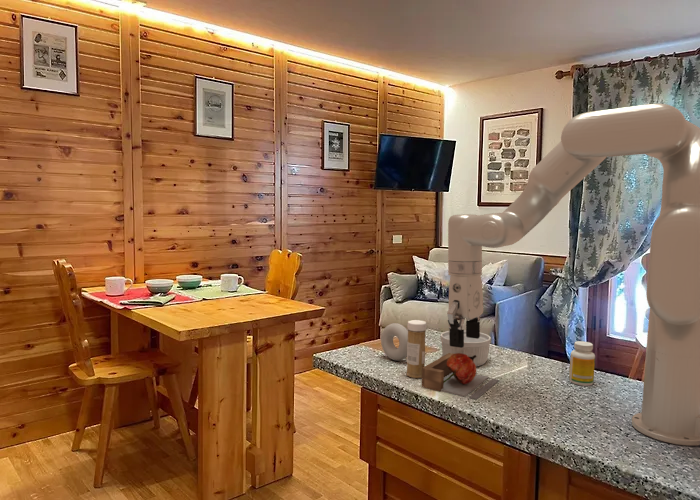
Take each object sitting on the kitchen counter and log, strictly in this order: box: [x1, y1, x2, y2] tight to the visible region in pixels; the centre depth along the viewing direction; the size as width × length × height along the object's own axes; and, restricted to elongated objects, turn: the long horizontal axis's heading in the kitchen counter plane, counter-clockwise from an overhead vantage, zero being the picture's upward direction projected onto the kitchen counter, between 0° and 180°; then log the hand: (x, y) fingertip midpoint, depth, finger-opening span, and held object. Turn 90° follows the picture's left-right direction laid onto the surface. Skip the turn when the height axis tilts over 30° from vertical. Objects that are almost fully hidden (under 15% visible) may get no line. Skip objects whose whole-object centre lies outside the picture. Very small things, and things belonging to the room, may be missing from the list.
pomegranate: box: [444, 353, 477, 384], centre depth 121 cm, size 7×7×10 cm
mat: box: [440, 373, 490, 398], centre depth 122 cm, size 8×15×1 cm, turn 146°
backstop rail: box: [421, 353, 454, 392], centre depth 124 cm, size 5×16×4 cm, turn 146°
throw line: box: [469, 378, 500, 400], centre depth 118 cm, size 2×15×1 cm, turn 146°
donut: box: [380, 322, 408, 362], centre depth 138 cm, size 10×4×10 cm, turn 43°
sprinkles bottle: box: [405, 319, 427, 379], centre depth 126 cm, size 5×5×13 cm
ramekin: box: [440, 329, 492, 367], centre depth 139 cm, size 13×13×7 cm
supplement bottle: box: [568, 340, 596, 387], centre depth 124 cm, size 5×5×10 cm
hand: (465, 342), depth 120 cm, fingers open, 9 cm apart
